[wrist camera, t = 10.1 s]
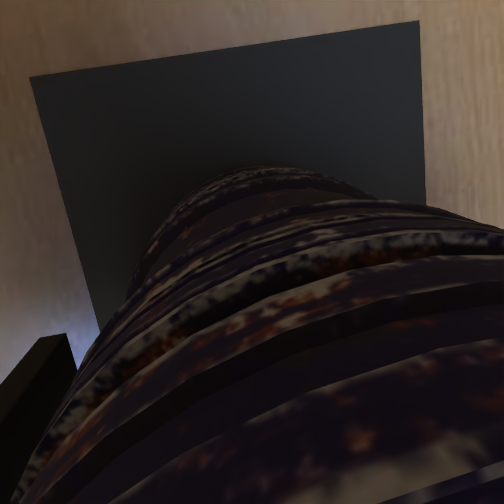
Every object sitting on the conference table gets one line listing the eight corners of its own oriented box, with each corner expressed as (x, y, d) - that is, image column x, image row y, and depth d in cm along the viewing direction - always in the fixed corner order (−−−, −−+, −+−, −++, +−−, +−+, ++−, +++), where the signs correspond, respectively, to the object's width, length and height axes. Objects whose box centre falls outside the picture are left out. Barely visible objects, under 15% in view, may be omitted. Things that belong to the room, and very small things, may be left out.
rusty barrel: (91, 246, 16) (-859, 1140, 2) (312, 111, 16) (1491, -192, 1) (226, 427, 19) (291, 1350, 4) (417, 317, 18) (1166, 951, 4)
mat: (30, 77, 14) (29, 77, 14) (418, 20, 15) (419, 20, 15) (145, 490, 19) (144, 491, 19) (433, 430, 20) (434, 431, 20)
